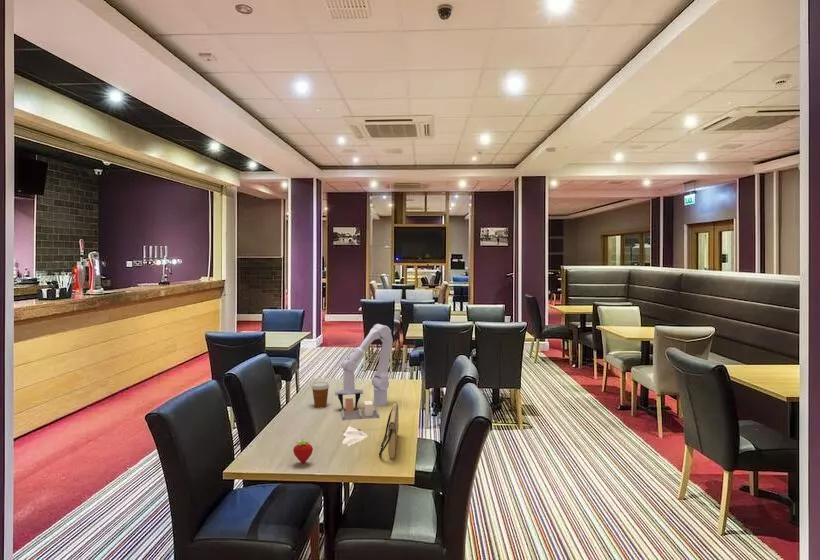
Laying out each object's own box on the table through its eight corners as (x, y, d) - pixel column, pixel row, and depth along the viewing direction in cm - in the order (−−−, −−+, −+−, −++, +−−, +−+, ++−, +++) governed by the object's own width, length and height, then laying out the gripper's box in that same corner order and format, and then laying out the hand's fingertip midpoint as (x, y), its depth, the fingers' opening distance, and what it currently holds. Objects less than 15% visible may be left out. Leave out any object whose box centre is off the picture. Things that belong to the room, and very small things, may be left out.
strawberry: (311, 466, 176) (310, 441, 175) (291, 466, 176) (291, 440, 176) (314, 460, 182) (314, 435, 181) (295, 460, 182) (295, 435, 181)
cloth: (360, 450, 193) (360, 444, 193) (328, 447, 195) (328, 442, 195) (375, 427, 219) (375, 423, 218) (347, 426, 221) (347, 421, 221)
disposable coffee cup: (308, 407, 248) (307, 385, 247) (318, 402, 257) (317, 381, 256) (323, 409, 244) (323, 387, 244) (332, 404, 253) (332, 382, 253)
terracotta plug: (345, 409, 244) (345, 398, 244) (352, 409, 244) (352, 398, 244) (345, 413, 238) (345, 402, 238) (353, 413, 239) (353, 401, 238)
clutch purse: (383, 433, 210) (383, 401, 209) (398, 433, 209) (398, 401, 209) (377, 461, 180) (377, 423, 179) (395, 461, 180) (395, 423, 179)
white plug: (364, 412, 235) (364, 401, 235) (372, 412, 236) (371, 400, 236) (365, 416, 230) (364, 404, 229) (373, 416, 230) (372, 404, 230)
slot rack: (341, 414, 237) (341, 409, 236) (376, 412, 240) (376, 407, 239) (342, 422, 225) (342, 417, 225) (379, 419, 228) (379, 414, 228)
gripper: (334, 385, 235) (335, 411, 236) (363, 383, 238) (363, 409, 238) (334, 381, 242) (335, 407, 243) (362, 380, 245) (362, 405, 245)
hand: (349, 408), depth 241 cm, fingers open, 6 cm apart
